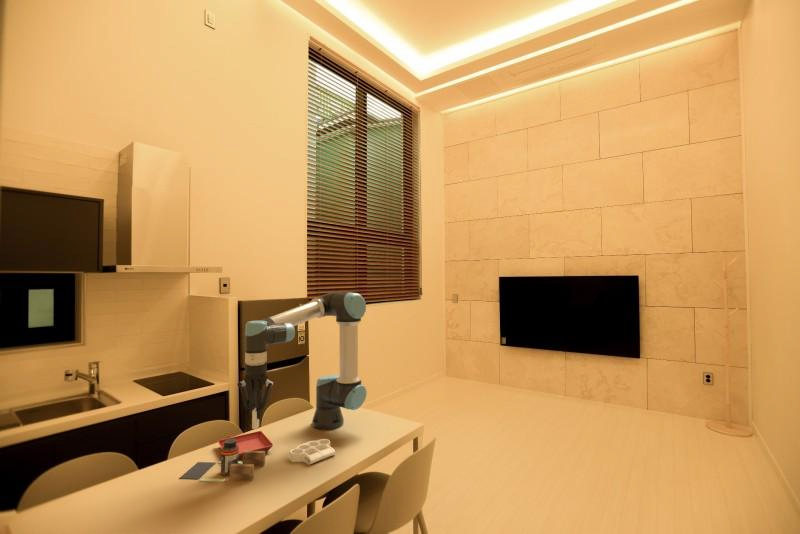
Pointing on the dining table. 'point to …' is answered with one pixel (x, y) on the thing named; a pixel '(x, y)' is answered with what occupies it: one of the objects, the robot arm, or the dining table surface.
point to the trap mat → (197, 470)
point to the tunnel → (247, 466)
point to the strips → (215, 479)
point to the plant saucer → (250, 442)
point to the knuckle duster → (312, 451)
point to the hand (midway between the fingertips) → (255, 427)
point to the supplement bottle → (229, 455)
